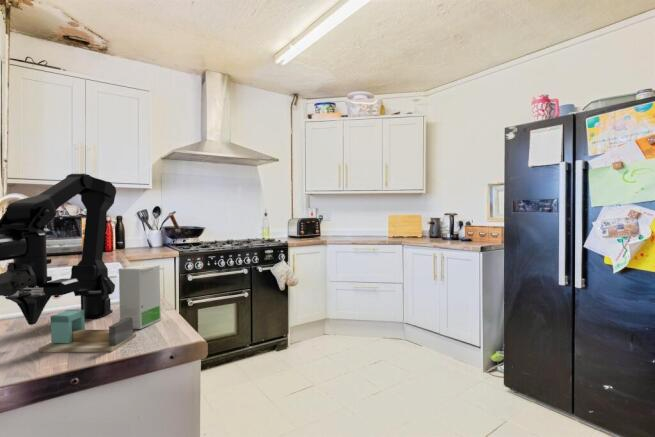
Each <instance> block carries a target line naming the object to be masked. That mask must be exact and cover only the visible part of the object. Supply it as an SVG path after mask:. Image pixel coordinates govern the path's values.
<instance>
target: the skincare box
mask: <svg viewBox="0 0 655 437" xmlns="http://www.w3.org/2000/svg"><path fill="white" fill-rule="evenodd" d="M160 271H161V270H160V265H159V264H138V265H134V266H133V265H132V266H127V267H121V268H118V282H119V283H118V285H119V286H118V287H119V289H118V290H119V292H118V293H119V321H121V320H123V319H125V318H130V317H133V330H142V329H144V328H146V327H149V326H150V325H154V324H156V323H158V322H160V321H161V320H162V318H161V317H162V315H161V309H162V308H161V276H160V275H161V274H160Z"/></svg>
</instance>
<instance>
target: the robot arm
mask: <svg viewBox="0 0 655 437" xmlns="http://www.w3.org/2000/svg"><path fill="white" fill-rule="evenodd" d="M116 194H117V188H116V186H115V185H113V183H112V182H111V181H106V180H103V179H100V178H97V177H94V176H92V175H90V174H88V173H70V174H67V175H66V176H65V178H62V180H60V181H59V182H57V183H55V184H54V185H52V186H50V187H49V188H47V189H45V190H44V191H43V192H41V193H39V194H38V195H34V196H30V197H25V198H21V199H18V200H16V201H13V202H11V203H9V204H8V205H7V206H6V207H5V209H6V210H5V212H4V214H2V216H1V218H0V262H3V261H10V260H13V261H12V262H11V261H10V262H8V264H7V266H6V267H7V269H6V271H4V272H1V273H0V297H5V300H10V301H12V302H13V303H15V304H17V306H18V307H19V309H20V312H21V313H22V314H23V317H24V319H25V321H26V322H27V324H28V325H29V326H33V325H36V324H37V322H38V320H39V319H40V316H41V315H42V314H43V313H42V312H43V311H44V309H45V307H46V305H47V303H48V302H49V301H50V299H51V297H52V296H53V297H55V296H58V297H59V296H64V295H68V294H71V293H73V294H74V296H75V297H79V296H80V310H84V319H99V318H102V317H104V316H106V315H108V314H110V313H113V309H112V306H111V298H110V295H113V293H115V288H116V284H115V283H114V282H113V281H112V279H110V277H109V273H108V272H109V271H108V270H109V269H108V267H107V265H106V264H105V262H104V260H103V256H104V247H105V246H104V245H105V244H104V243H105V237H106V236H105V233H106V222H107V214H108V211H109V210H110V208H111V207H112V206H113V205H114V203H115V198H116ZM77 195H78V196H80V200H81V201H80V202H81V203H82V204H83V206H84V209H85V210H86V213H85V214H86V215H85V221H84V222H85V224H84V232H83V242H82V252H81V259H80V261H79V262H78V263H77V265H72V267H71V270H70V271H71V275H70V278H59V279H55V280H53V277H52V276H53V275H52V276H50V275H48V265H49V264H52V259H51V258H47V257H48V256H47V255H48V254H47V253H48V252H47V236H53V235H54V231H52V230H51V229H49V228H47V226H48V225H49V224H50V223H51V222H52V221H53V220H54V219H55V217H56V216H57V212H58V211H57V210H58V209H59V208H61V206H63V205H64V204H66V203H67V202H69V201H70V200H72V199H73V198H75V196H77Z"/></svg>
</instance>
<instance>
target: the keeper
mask: <svg viewBox="0 0 655 437" xmlns="http://www.w3.org/2000/svg"><path fill="white" fill-rule="evenodd" d="M85 326H86V325H85V318H84V310H81V309H67V310H64V311H61V312H58V313H56V314H53V315H51V316H50V338H51V339H50V340H51V342H50V343H70V342H72V330H86V329H85V328H86V327H85Z"/></svg>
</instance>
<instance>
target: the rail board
mask: <svg viewBox="0 0 655 437" xmlns="http://www.w3.org/2000/svg"><path fill="white" fill-rule="evenodd" d="M136 337H137V333H136V332H134V329H133V317H130V318H125V319H123V320H121V321H120V320H119V321H118V322H115V323H112V324H111V325H110V326H108V329H85V330H72V342H70V343H51V342H49V343H47V344H45V345H42V346H41V347H39V348H38V353H44V352H45V353H53V352H55V353H63V352H65V353H66V352H67V353H68V352H70V353H72V352H73V353H74V352H75V353H77V352H78V353H81V352H82V353H85V352H86V353H91V352H93V353H94V352H95V353H97V352H98V353H99V352H101V353H102V352H105V353H107V352H109V353H112V352H114V351H116V349H119V348H120V347H121V346H123V345H125V344H127V343H128V342H130V341H131V340H132V339H133V340H134V338H136Z"/></svg>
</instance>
